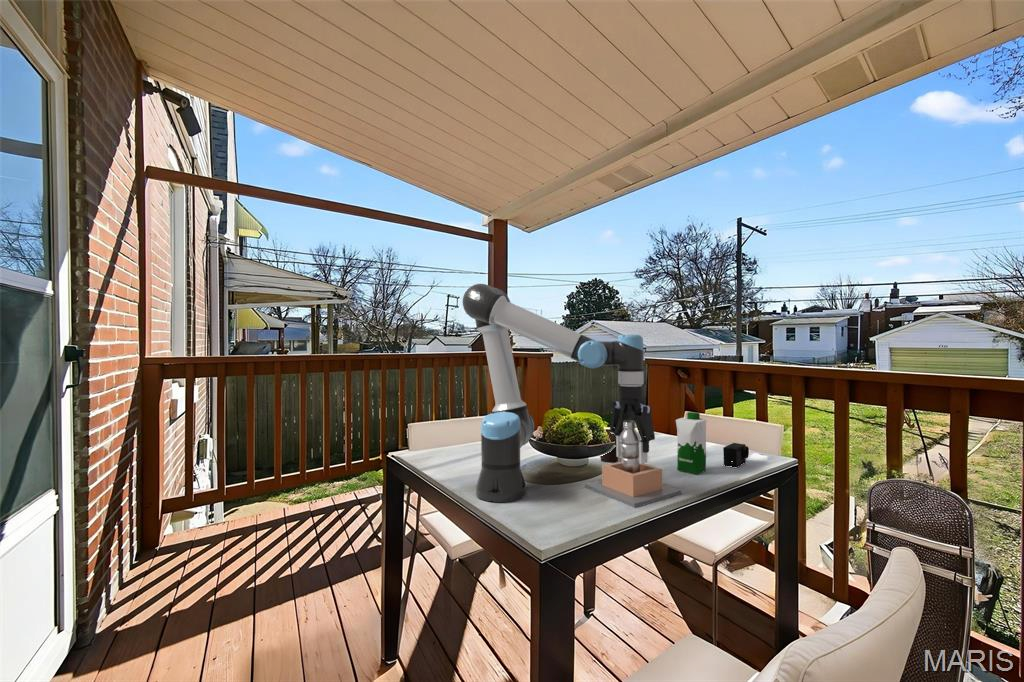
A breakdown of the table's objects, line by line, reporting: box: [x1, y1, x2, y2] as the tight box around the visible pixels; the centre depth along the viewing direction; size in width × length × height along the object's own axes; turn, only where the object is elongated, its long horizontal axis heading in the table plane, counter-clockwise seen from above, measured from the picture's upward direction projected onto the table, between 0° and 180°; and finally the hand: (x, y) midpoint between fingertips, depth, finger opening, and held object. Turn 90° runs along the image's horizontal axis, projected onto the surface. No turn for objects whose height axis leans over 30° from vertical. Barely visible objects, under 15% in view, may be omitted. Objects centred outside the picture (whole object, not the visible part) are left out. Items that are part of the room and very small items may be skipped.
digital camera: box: [722, 442, 750, 468], centre depth 157 cm, size 10×5×7 cm, turn 134°
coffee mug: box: [599, 431, 619, 464], centre depth 165 cm, size 12×9×10 cm
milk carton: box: [675, 411, 707, 475], centre depth 150 cm, size 9×9×20 cm
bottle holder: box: [584, 461, 682, 508], centre depth 130 cm, size 20×20×7 cm
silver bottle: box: [619, 419, 641, 474], centre depth 129 cm, size 6×7×20 cm
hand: (631, 459), depth 130 cm, fingers open, 8 cm apart
